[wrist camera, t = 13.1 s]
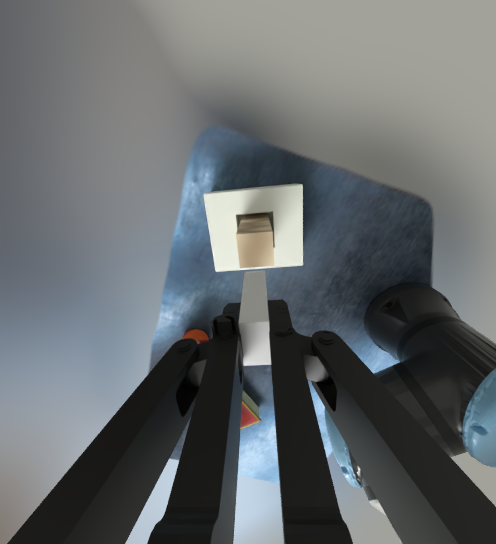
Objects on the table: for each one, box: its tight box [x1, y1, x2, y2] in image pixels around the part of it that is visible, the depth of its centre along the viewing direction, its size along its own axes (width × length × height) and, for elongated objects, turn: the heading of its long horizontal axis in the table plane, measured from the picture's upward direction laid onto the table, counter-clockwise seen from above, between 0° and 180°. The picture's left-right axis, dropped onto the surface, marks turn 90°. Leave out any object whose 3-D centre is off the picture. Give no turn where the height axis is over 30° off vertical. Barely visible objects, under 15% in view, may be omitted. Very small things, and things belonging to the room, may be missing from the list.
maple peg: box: [236, 213, 274, 268], centre depth 32 cm, size 4×4×14 cm
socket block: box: [204, 184, 303, 272], centre depth 37 cm, size 14×12×6 cm
